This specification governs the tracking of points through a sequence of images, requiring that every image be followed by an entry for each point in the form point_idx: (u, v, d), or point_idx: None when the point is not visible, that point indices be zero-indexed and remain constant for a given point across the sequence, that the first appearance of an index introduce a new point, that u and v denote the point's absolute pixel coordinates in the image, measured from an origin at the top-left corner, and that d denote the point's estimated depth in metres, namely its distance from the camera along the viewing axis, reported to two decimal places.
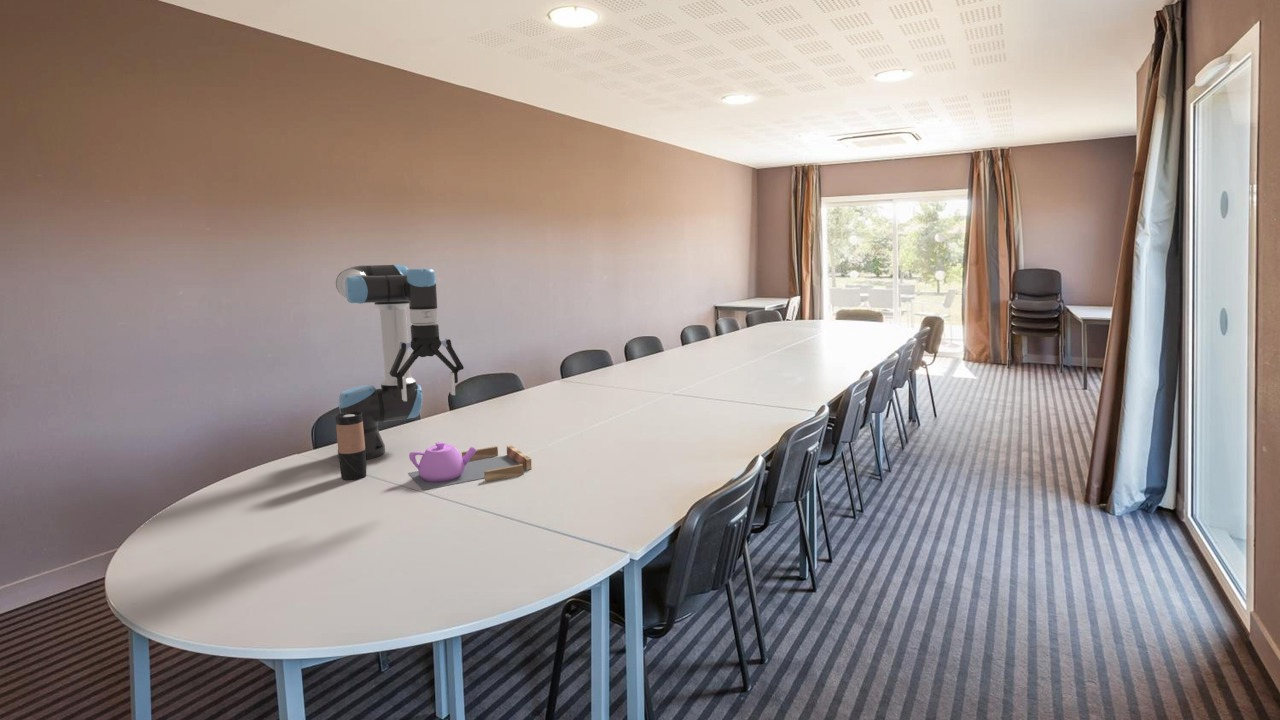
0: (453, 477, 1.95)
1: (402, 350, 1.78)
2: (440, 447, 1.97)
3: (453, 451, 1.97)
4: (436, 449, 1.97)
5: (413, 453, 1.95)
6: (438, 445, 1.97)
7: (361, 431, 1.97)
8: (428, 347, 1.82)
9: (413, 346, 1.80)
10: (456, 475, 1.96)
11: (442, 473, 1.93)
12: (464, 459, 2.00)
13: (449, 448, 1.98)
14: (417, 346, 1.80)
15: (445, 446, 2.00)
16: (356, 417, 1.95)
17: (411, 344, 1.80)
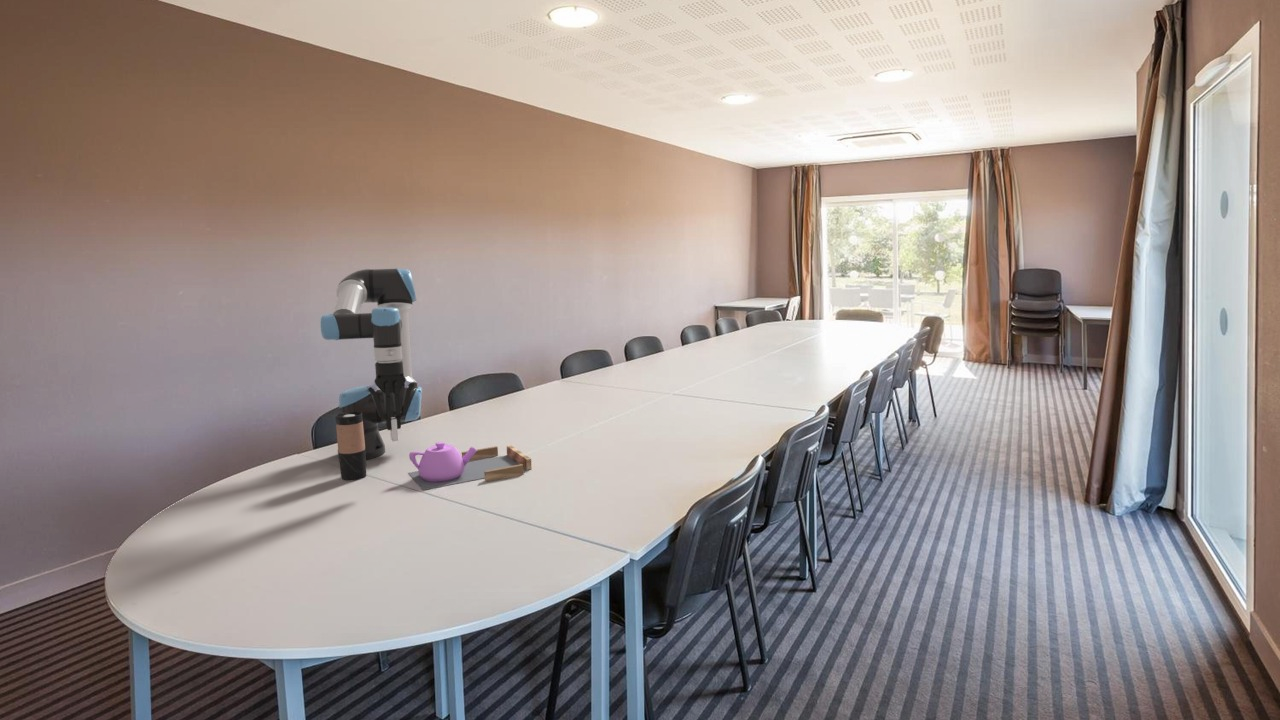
0: (453, 477, 1.95)
1: (372, 394, 1.84)
2: (440, 447, 1.97)
3: (453, 451, 1.97)
4: (436, 449, 1.97)
5: (413, 453, 1.95)
6: (438, 445, 1.97)
7: (361, 431, 1.97)
8: (392, 382, 1.87)
9: (378, 384, 1.85)
10: (456, 475, 1.96)
11: (442, 473, 1.93)
12: (464, 459, 2.00)
13: (449, 448, 1.98)
14: (382, 382, 1.85)
15: (445, 446, 2.00)
16: (356, 417, 1.95)
17: (376, 384, 1.85)
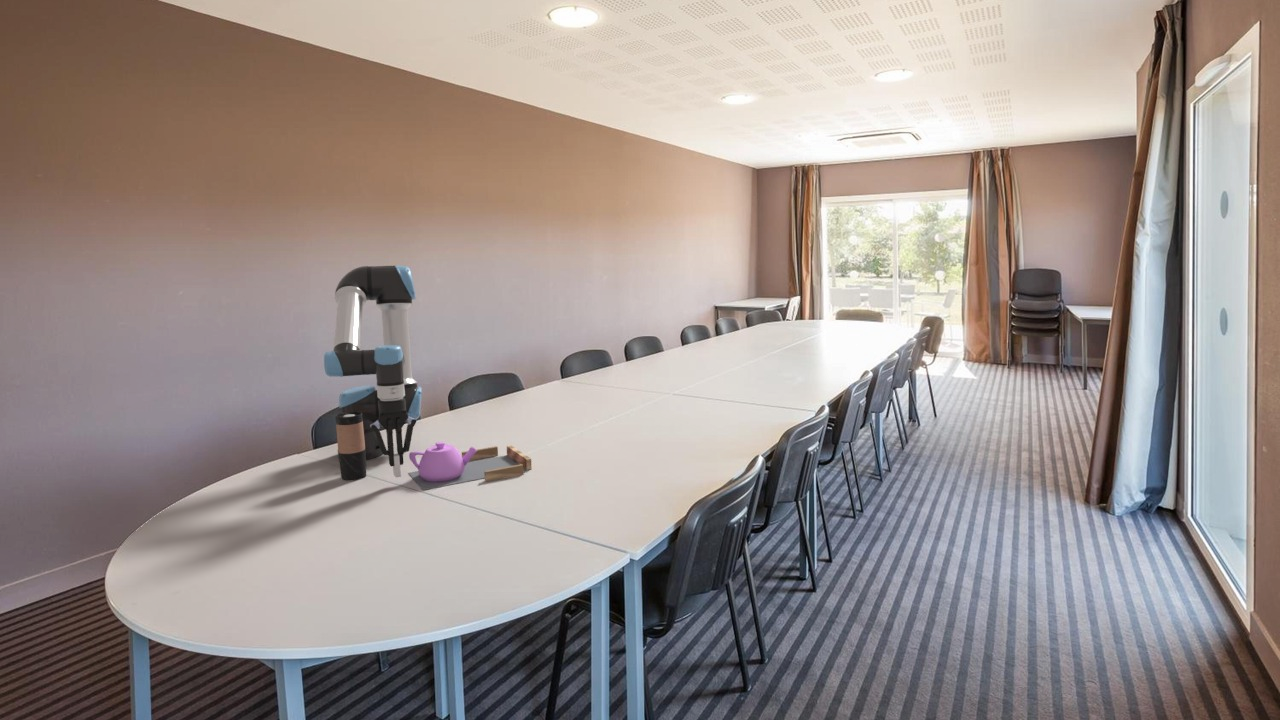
0: (453, 477, 1.95)
1: (375, 431, 1.86)
2: (440, 447, 1.97)
3: (453, 451, 1.97)
4: (436, 449, 1.97)
5: (413, 453, 1.95)
6: (438, 445, 1.97)
7: (361, 431, 1.97)
8: (395, 419, 1.89)
9: (381, 421, 1.87)
10: (456, 475, 1.96)
11: (442, 473, 1.93)
12: (464, 459, 2.00)
13: (449, 448, 1.98)
14: (384, 419, 1.87)
15: (445, 446, 2.00)
16: (356, 417, 1.95)
17: (379, 421, 1.87)
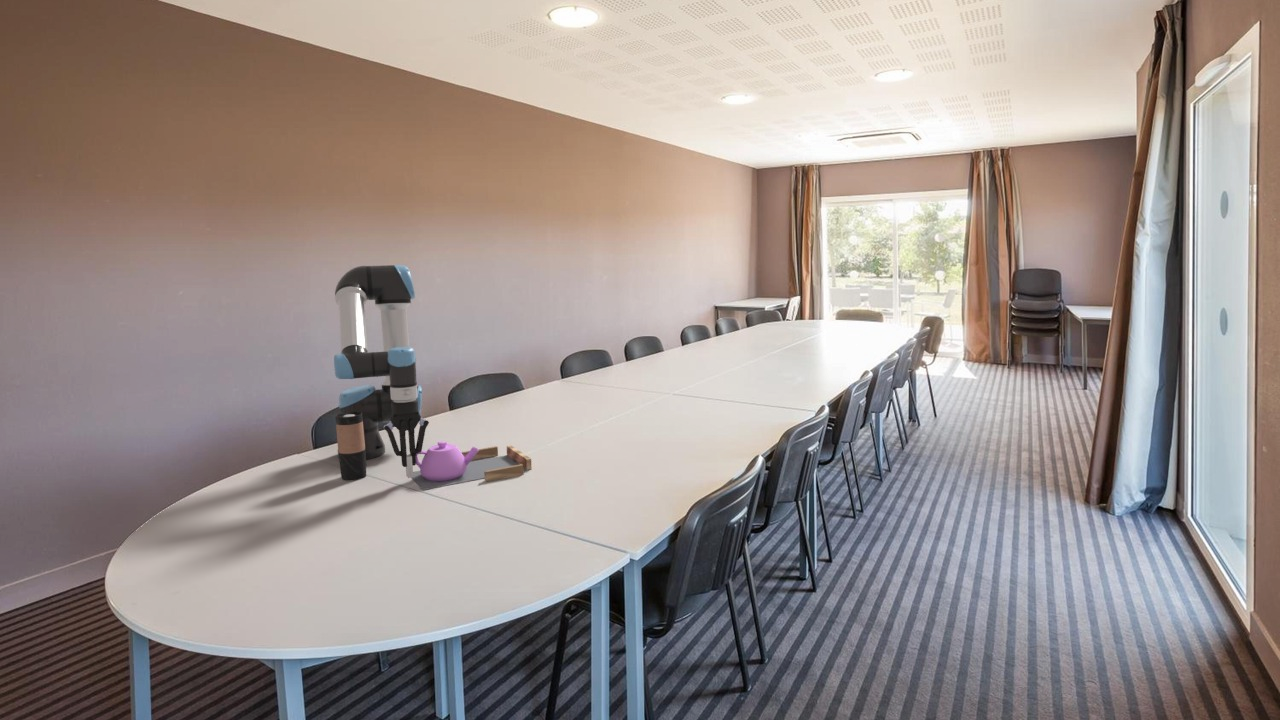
0: (454, 477, 1.96)
1: (388, 432, 1.88)
2: (442, 446, 1.98)
3: (455, 450, 1.97)
4: (438, 448, 1.97)
5: None
6: (440, 444, 1.97)
7: (361, 431, 1.97)
8: (408, 420, 1.91)
9: (394, 423, 1.89)
10: (457, 475, 1.96)
11: (443, 472, 1.93)
12: (466, 459, 2.00)
13: (451, 448, 1.98)
14: (397, 420, 1.89)
15: (447, 445, 2.00)
16: (356, 417, 1.95)
17: (392, 422, 1.89)
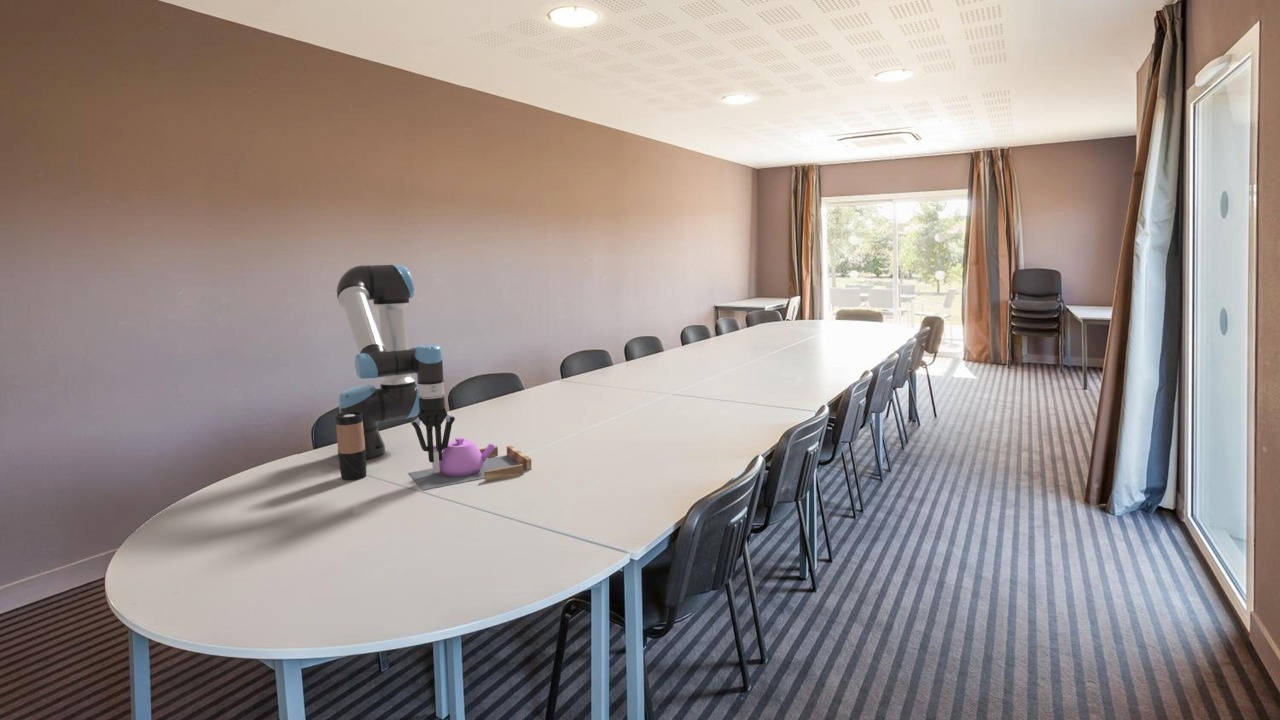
0: (470, 472, 1.99)
1: (416, 428, 1.92)
2: (459, 442, 2.02)
3: (471, 447, 2.01)
4: (455, 444, 2.02)
5: (433, 447, 2.01)
6: (457, 440, 2.02)
7: (361, 431, 1.97)
8: (435, 416, 1.95)
9: (422, 419, 1.93)
10: (473, 471, 2.00)
11: (459, 468, 1.97)
12: (482, 455, 2.04)
13: (468, 444, 2.02)
14: (425, 416, 1.93)
15: (465, 442, 2.04)
16: (356, 417, 1.95)
17: (419, 418, 1.93)
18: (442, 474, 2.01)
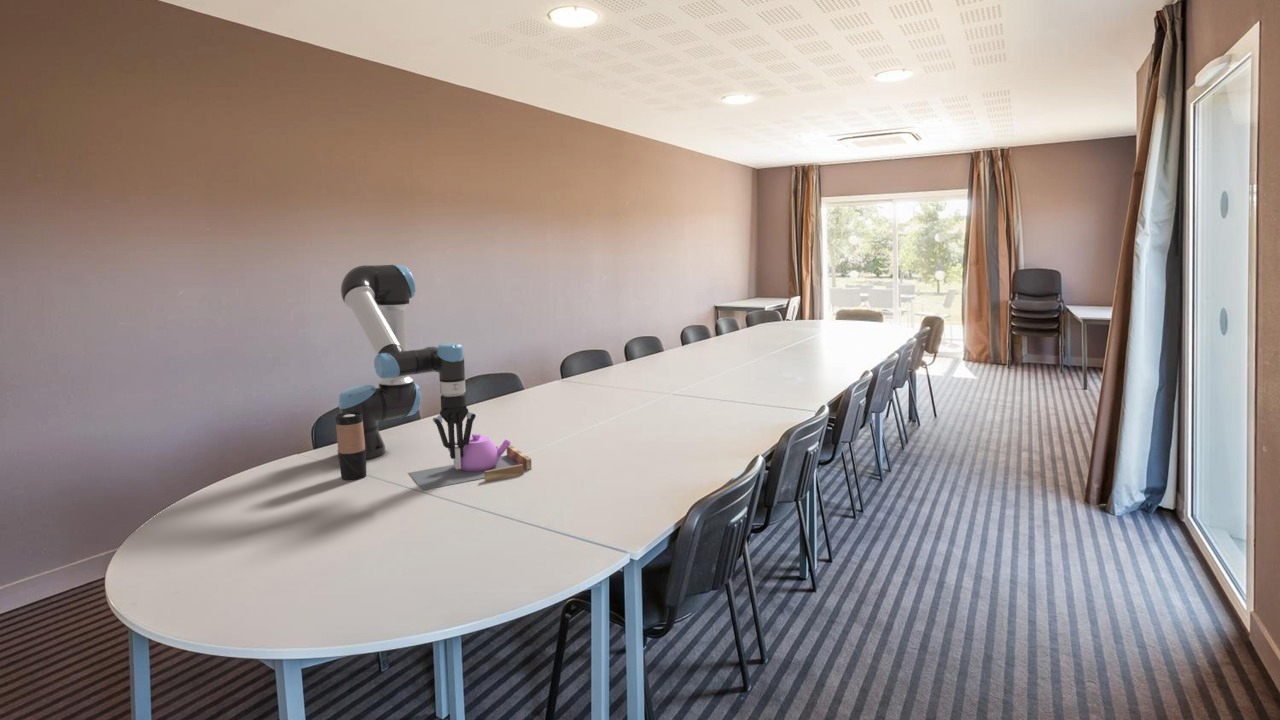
0: (486, 468, 2.04)
1: (438, 425, 1.96)
2: (476, 438, 2.06)
3: (488, 443, 2.06)
4: (472, 440, 2.06)
5: None
6: (474, 436, 2.06)
7: (361, 431, 1.97)
8: (456, 413, 1.98)
9: (444, 416, 1.96)
10: (489, 466, 2.04)
11: (476, 463, 2.02)
12: (498, 451, 2.08)
13: (484, 440, 2.06)
14: (447, 413, 1.97)
15: (481, 438, 2.09)
16: (356, 417, 1.95)
17: (441, 415, 1.96)
18: (442, 474, 2.01)
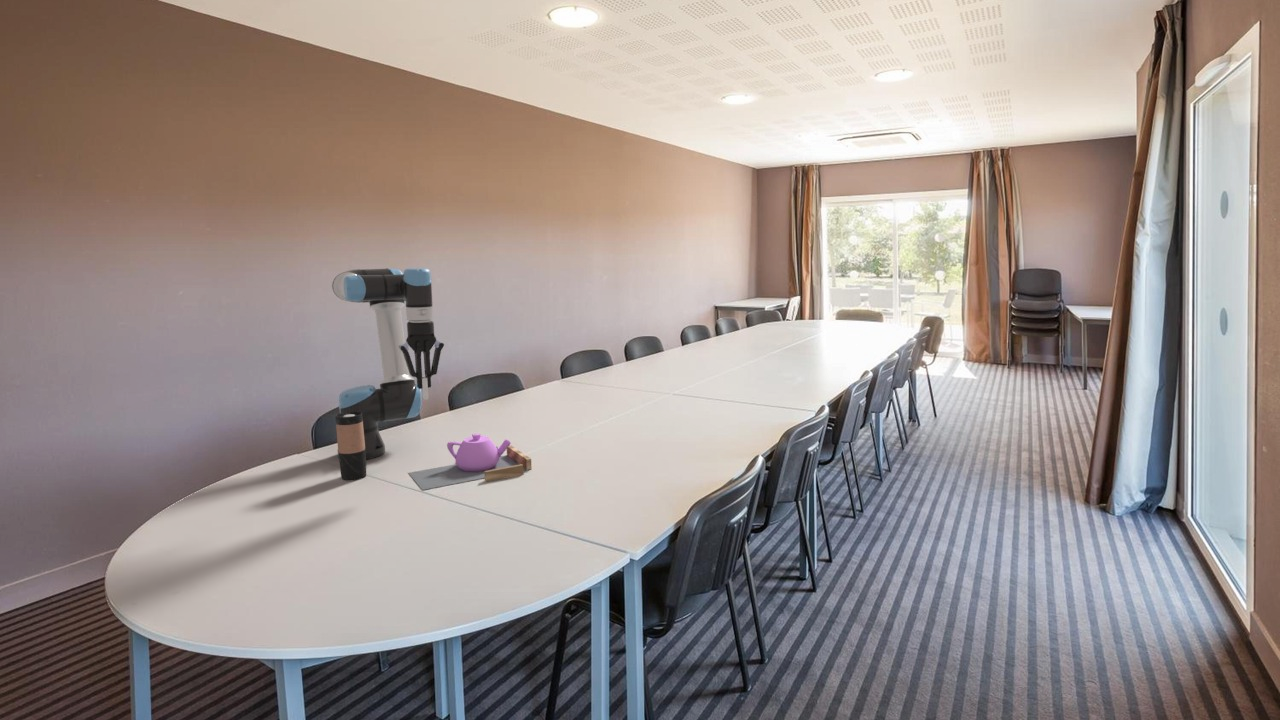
0: (486, 468, 2.04)
1: (404, 352, 1.89)
2: (476, 438, 2.06)
3: (488, 443, 2.06)
4: (472, 440, 2.06)
5: (450, 443, 2.05)
6: (474, 436, 2.06)
7: (361, 431, 1.97)
8: (423, 341, 1.91)
9: (410, 343, 1.89)
10: (489, 466, 2.04)
11: (476, 463, 2.02)
12: (498, 451, 2.08)
13: (484, 440, 2.06)
14: (413, 341, 1.90)
15: (481, 438, 2.09)
16: (356, 417, 1.95)
17: (408, 343, 1.89)
18: (442, 474, 2.01)
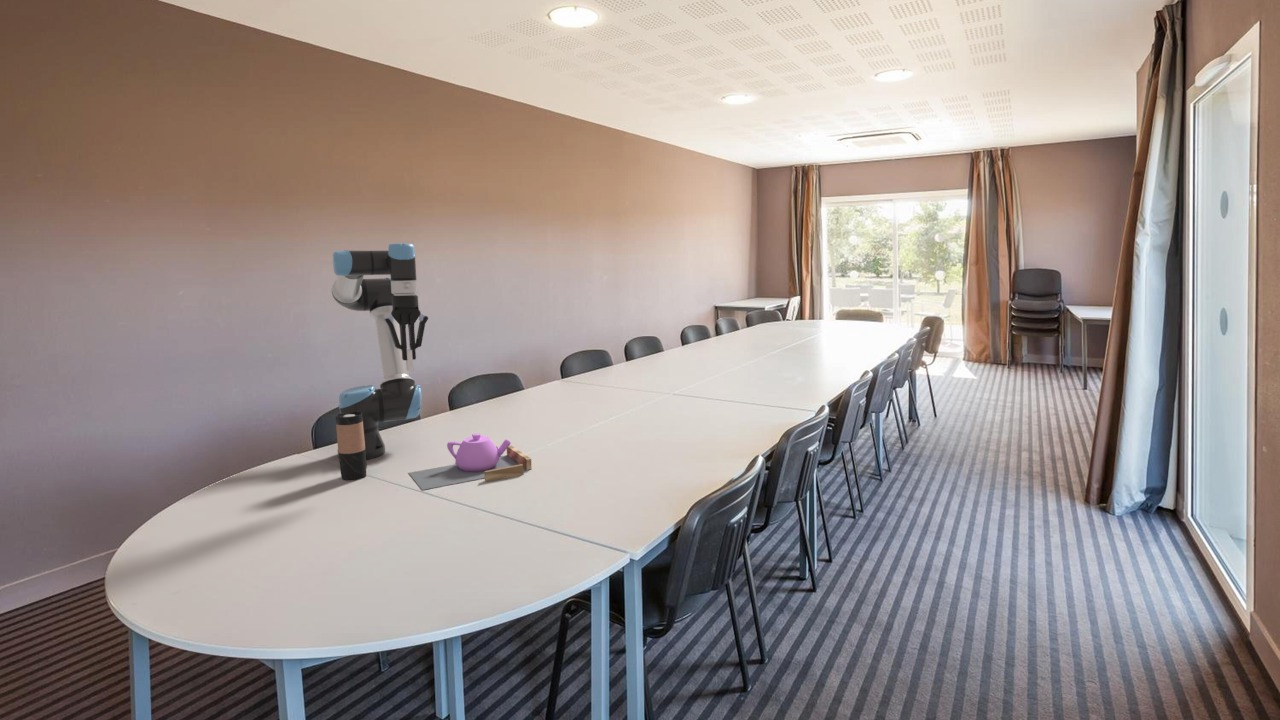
0: (486, 468, 2.04)
1: (389, 325, 1.95)
2: (476, 438, 2.06)
3: (488, 443, 2.06)
4: (472, 440, 2.06)
5: (450, 443, 2.05)
6: (474, 436, 2.06)
7: (361, 431, 1.97)
8: (408, 314, 1.97)
9: (395, 316, 1.96)
10: (489, 466, 2.04)
11: (476, 463, 2.02)
12: (498, 451, 2.08)
13: (484, 440, 2.06)
14: (398, 313, 1.96)
15: (481, 438, 2.09)
16: (356, 417, 1.95)
17: (392, 315, 1.95)
18: (442, 474, 2.01)
